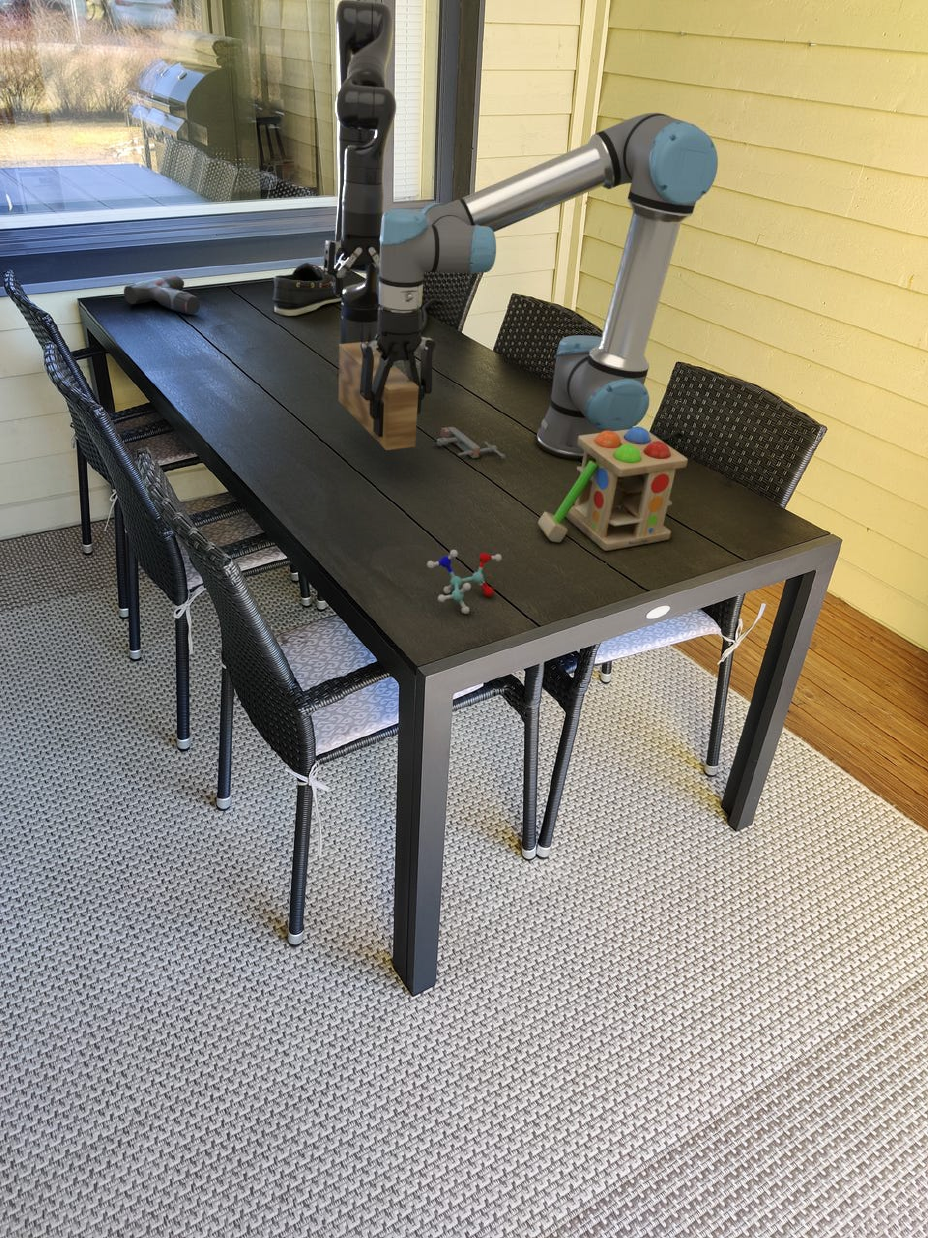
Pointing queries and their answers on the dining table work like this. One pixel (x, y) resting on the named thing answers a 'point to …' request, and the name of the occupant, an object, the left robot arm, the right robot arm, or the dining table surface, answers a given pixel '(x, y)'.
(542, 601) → the dining table surface
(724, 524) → the dining table surface
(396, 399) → the box
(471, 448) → the clamp
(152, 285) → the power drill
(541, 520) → the pounding bench toy
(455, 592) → the molecular model
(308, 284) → the boat shoe
